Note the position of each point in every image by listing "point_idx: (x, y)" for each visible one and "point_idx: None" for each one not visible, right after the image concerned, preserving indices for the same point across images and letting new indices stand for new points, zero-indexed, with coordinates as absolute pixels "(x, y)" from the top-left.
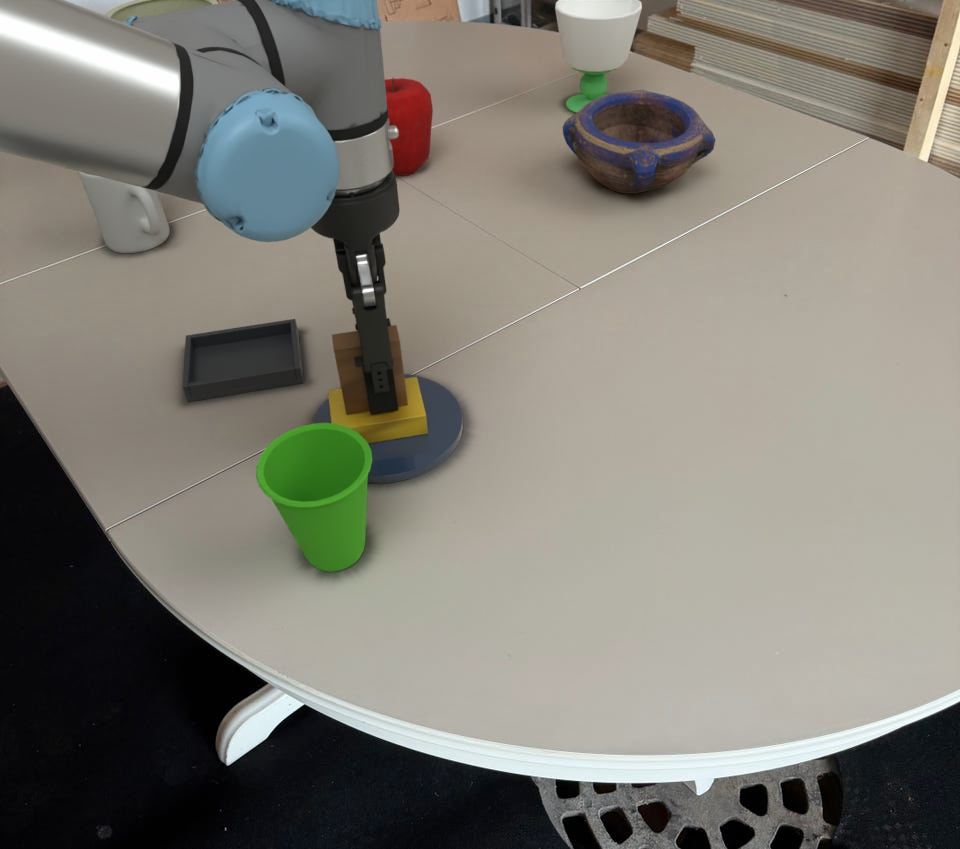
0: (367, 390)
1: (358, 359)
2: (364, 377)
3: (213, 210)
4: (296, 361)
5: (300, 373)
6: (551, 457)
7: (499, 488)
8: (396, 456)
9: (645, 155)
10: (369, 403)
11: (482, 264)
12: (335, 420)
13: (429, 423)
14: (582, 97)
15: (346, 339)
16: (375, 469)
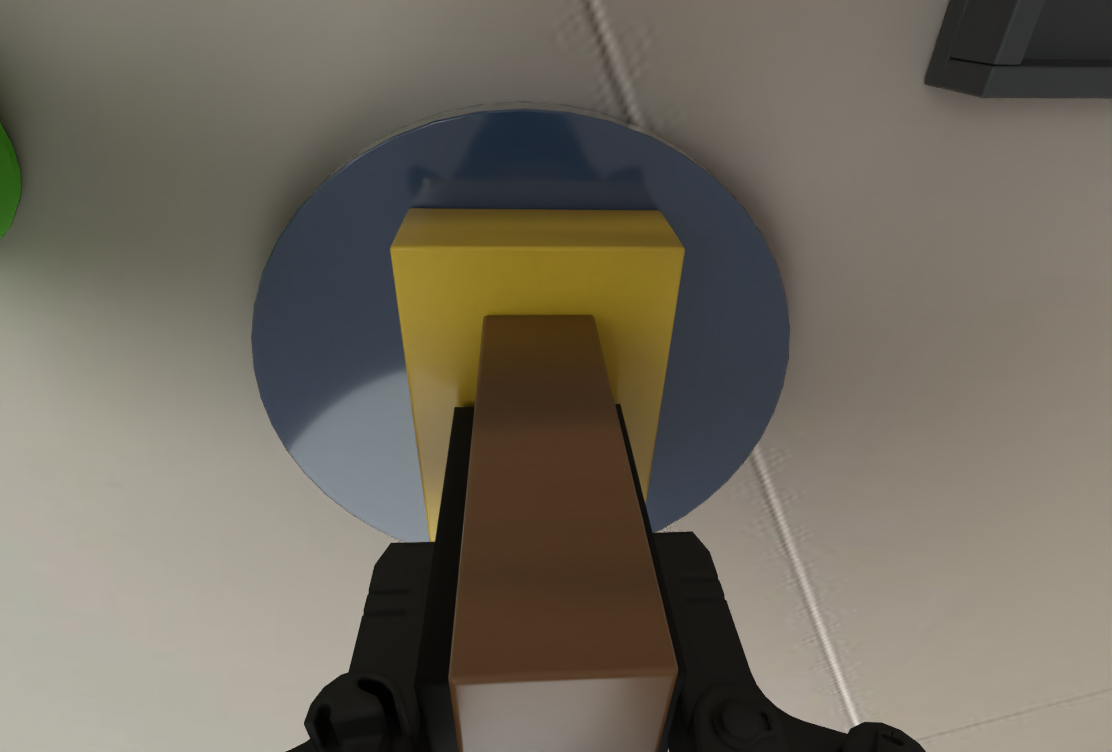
0: (442, 506)
1: (368, 728)
2: (431, 574)
3: None
4: (1044, 81)
5: (960, 87)
6: (347, 660)
7: (247, 576)
8: (345, 401)
9: None
10: (449, 449)
11: (1104, 640)
12: (458, 265)
13: None
14: None
15: (569, 735)
16: (285, 333)
